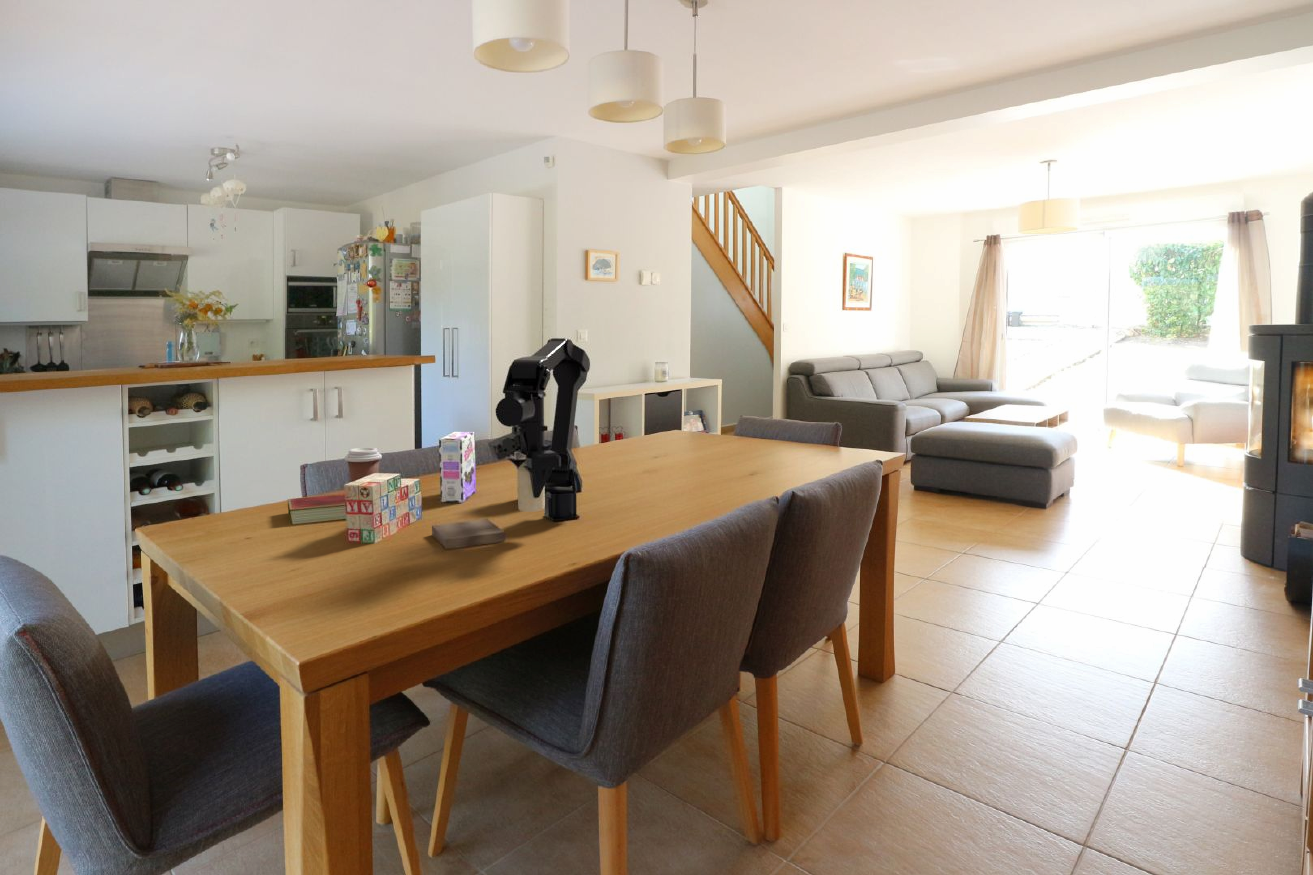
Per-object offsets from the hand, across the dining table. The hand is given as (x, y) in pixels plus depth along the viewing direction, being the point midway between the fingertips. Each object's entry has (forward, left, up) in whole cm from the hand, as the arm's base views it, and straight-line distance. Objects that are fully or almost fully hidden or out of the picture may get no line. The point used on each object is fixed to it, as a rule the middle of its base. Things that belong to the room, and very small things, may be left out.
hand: (531, 494), depth 157 cm
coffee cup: (+24, -60, -9) cm, 65 cm away
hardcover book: (+33, -41, -10) cm, 53 cm away
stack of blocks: (+25, -22, -10) cm, 35 cm away
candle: (0, 0, -3) cm, 3 cm away
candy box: (+3, -45, -10) cm, 46 cm away
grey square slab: (+12, -6, -9) cm, 16 cm away
